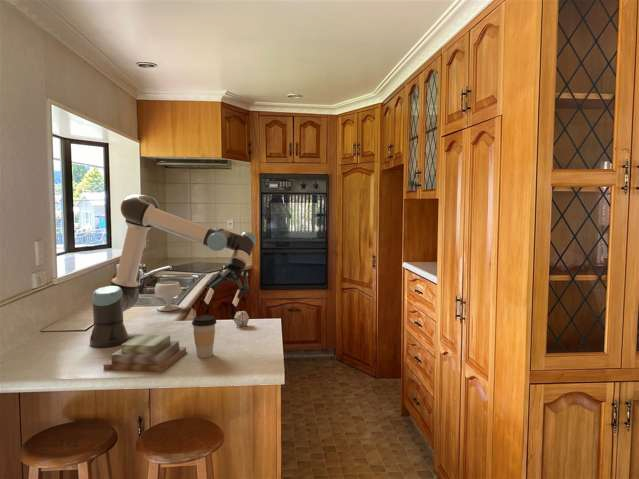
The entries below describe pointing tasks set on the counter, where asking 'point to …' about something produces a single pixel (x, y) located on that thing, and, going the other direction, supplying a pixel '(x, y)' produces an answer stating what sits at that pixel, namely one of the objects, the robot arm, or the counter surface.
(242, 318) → the game die
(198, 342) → the coffee cup
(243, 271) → the robot arm
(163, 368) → the tower base
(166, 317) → the counter surface
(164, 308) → the chalice
